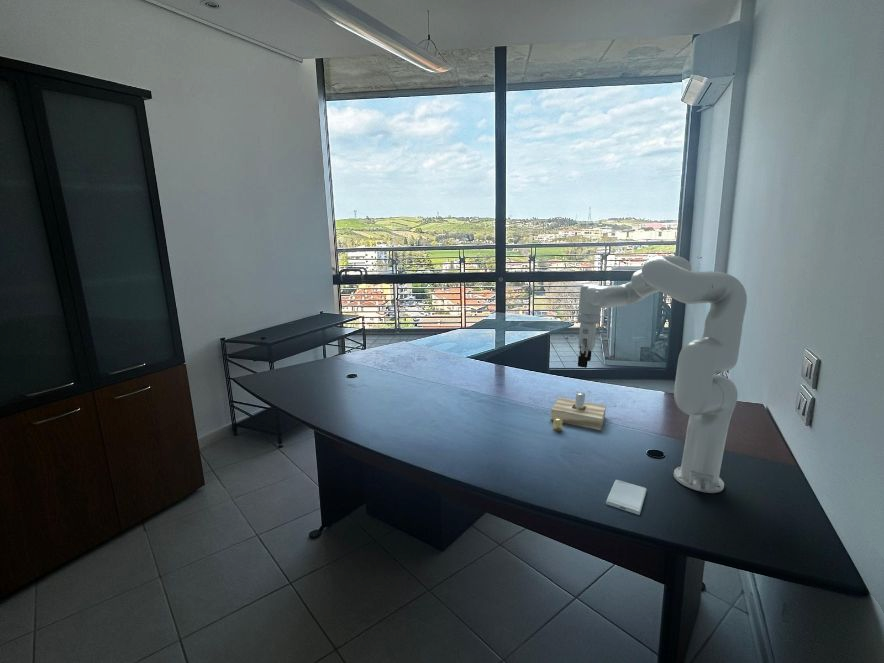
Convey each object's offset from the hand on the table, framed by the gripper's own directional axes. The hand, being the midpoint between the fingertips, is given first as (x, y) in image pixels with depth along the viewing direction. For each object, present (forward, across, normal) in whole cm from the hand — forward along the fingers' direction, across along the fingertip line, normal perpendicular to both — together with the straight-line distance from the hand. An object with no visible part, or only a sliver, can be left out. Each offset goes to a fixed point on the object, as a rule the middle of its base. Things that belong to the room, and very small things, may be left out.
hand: (584, 363), depth 163 cm
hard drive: (+23, -48, -20) cm, 56 cm away
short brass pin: (+22, -14, +5) cm, 26 cm away
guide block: (+22, 0, 0) cm, 22 cm away
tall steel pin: (+22, 0, 0) cm, 22 cm away
